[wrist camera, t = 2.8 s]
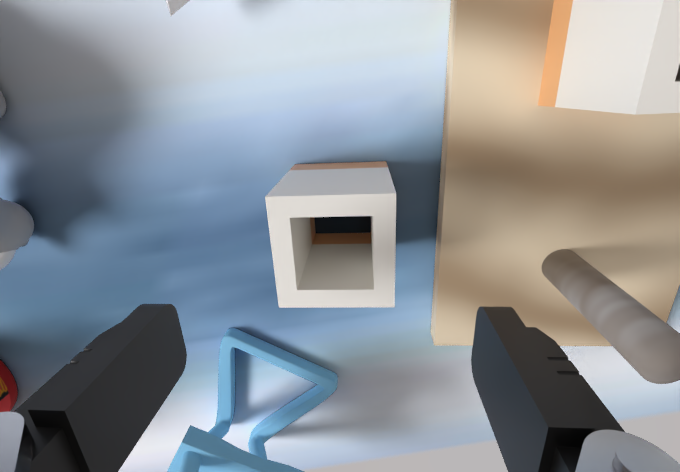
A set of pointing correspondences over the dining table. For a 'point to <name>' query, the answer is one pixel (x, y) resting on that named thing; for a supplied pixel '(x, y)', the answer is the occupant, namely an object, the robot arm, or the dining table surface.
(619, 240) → the pin board
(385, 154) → the dining table surface
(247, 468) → the chair
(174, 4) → the origami figure
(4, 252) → the chubby cartoon animal
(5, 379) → the canned food
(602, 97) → the seated sleeve
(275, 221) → the sleeve
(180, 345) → the robot arm
